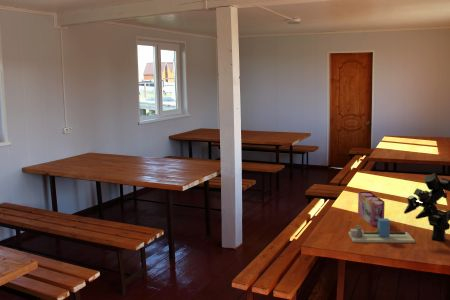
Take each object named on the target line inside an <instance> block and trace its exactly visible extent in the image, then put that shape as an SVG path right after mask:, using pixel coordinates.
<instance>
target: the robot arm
mask: <svg viewBox="0 0 450 300" xmlns="http://www.w3.org/2000/svg"><path fill="white" fill-rule="evenodd" d="M423 181H424V183H425V185H426V187H427V189H428V190H429V191H428V190H422V189H421V188H416V189H415V190H414V192H413V195H415V196H413V195H409V196H407V197H406V199H407V202H408V204H407V206H406V207H405V209H404V211H403V214H408V213H411V212H413V211H415V210H417V208H419V207H422V210H421V211H420V212H419V213H418V214H417V215H416V216H415V219H416V220H419V219H423V218H427V220H428V223H429V226H432V234H431V240H432V241H440V242H446V239H447V237H446V231H448V230H449V229H450V223H449V221H450V209H448V210H445V211H444V210H441V209H439V208H438V207H437V205H438V201H439V200H441V199H442V198H443V199H447V198H448V193H447V192H450V179H448V178H445V177H442V178H440V179H439V177H438V174H437V173H434V172H433V173H432V174H431V173H430V174H428V175H425V176H424V178H423ZM446 191H447V192H446ZM416 196H417V197H416Z"/></svg>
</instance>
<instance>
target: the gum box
mask: <svg viewBox="0 0 450 300" xmlns="http://www.w3.org/2000/svg"><path fill="white" fill-rule="evenodd" d="M357 198H358V202H357V214H358V215H359V216H360V217H361V218H362V219H363V220H364V221H366V223H368V224H369V226H378V218H385V203H386V202H385V201H384V200H383V199H381V198H380V197H378V195H376V194H375V193H373V192H371V191H358V195H357Z"/></svg>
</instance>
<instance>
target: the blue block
mask: <svg viewBox="0 0 450 300" xmlns="http://www.w3.org/2000/svg"><path fill="white" fill-rule="evenodd" d="M390 229H391V220H390V219H389V218H386V217H384V218H378V225H377V229H376V230H377V231H376V232H379V237H389V234H390V232H391V231H390Z"/></svg>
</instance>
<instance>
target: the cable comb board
mask: <svg viewBox="0 0 450 300" xmlns="http://www.w3.org/2000/svg"><path fill="white" fill-rule="evenodd" d="M348 235H349V238H350V239H351V240H352V242H353V243H403V244H404V243H406V244H407V243H410V244H411V243H415V242H416V240H415V239H414V238H413V237H412V236H411V235H410V234H409V232H407V231H390V234H389V237H379V232H377V231H365V230H364V229H362V227H361V225H360V224H356V225H355V228H350V231H348Z"/></svg>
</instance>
